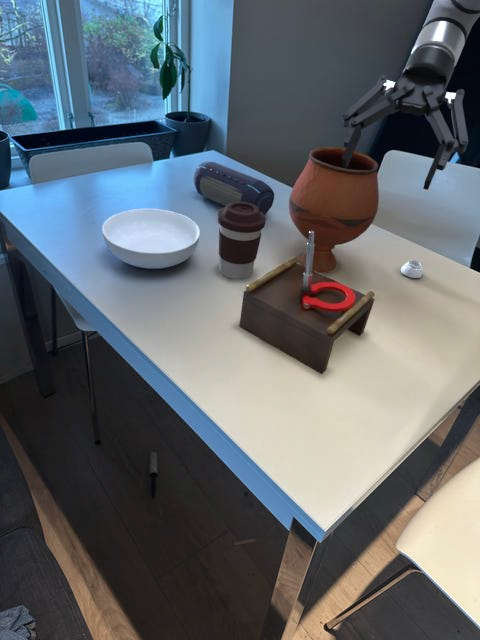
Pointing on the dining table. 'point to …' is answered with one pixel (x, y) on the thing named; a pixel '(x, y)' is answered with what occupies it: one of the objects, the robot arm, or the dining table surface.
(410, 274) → the white jar
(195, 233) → the serving bowl
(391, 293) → the dining table surface
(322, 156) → the goblet
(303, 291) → the tow hook
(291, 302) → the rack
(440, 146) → the robot arm
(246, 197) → the portable speaker
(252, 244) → the coffee cup
